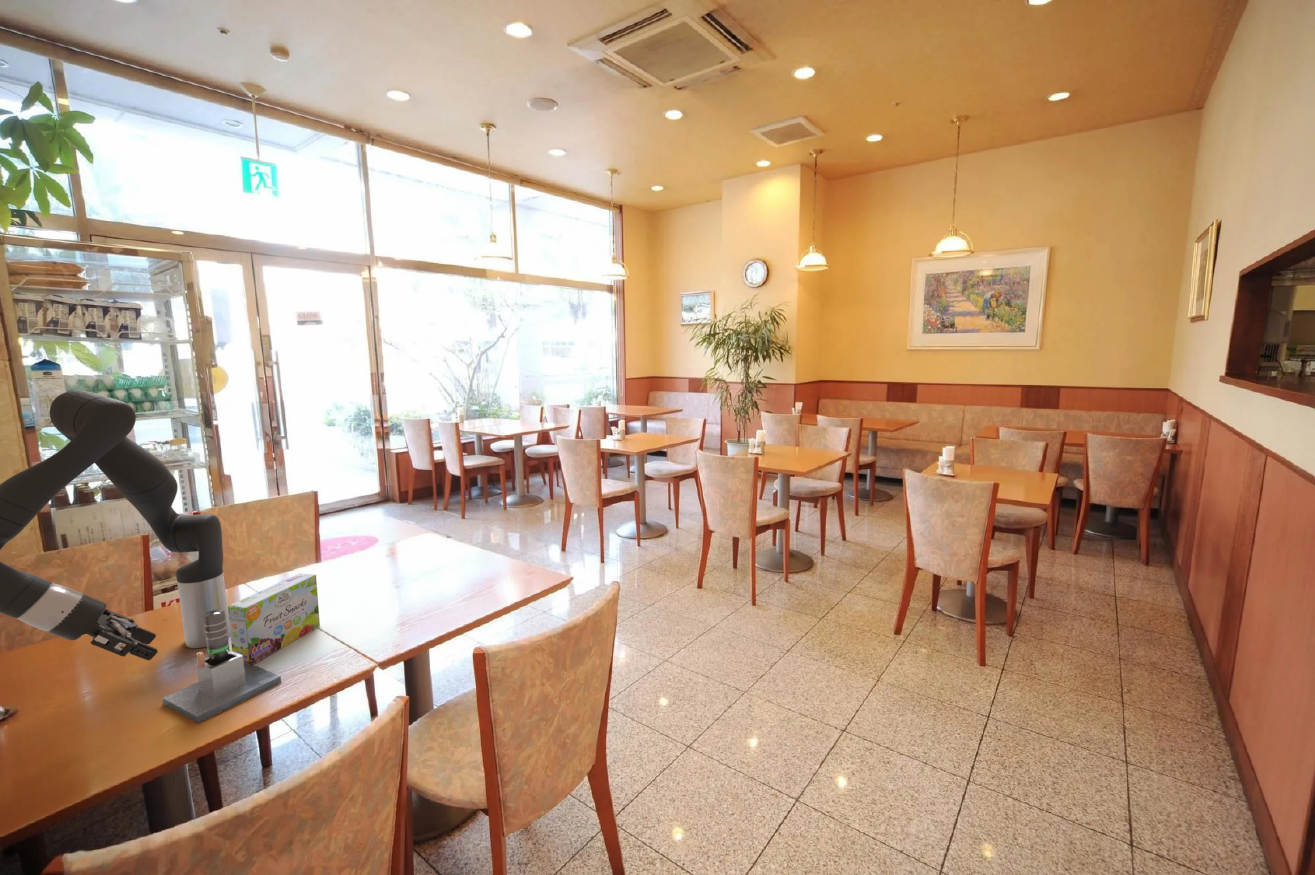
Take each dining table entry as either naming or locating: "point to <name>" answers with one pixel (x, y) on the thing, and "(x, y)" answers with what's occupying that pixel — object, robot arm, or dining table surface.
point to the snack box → (274, 617)
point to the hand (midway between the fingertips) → (153, 647)
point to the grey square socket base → (220, 687)
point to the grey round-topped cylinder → (216, 637)
